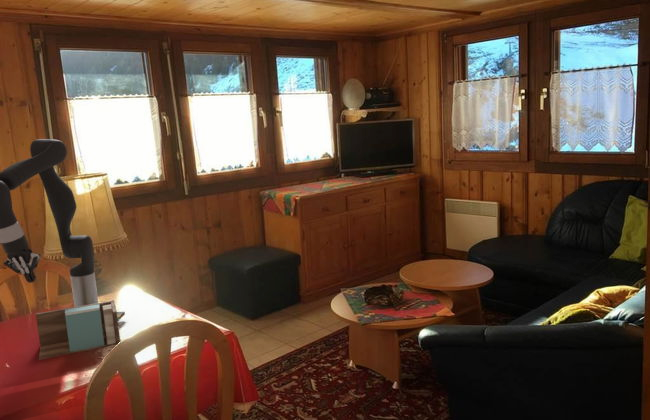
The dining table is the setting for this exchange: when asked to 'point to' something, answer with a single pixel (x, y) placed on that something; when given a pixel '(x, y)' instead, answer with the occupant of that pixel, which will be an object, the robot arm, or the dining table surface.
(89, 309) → the rectangular block
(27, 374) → the dining table surface
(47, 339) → the open wooden box
